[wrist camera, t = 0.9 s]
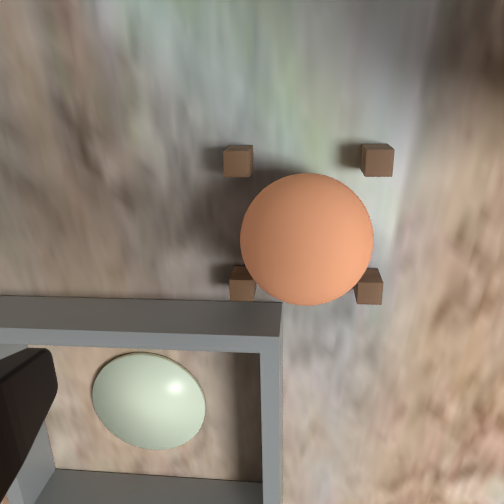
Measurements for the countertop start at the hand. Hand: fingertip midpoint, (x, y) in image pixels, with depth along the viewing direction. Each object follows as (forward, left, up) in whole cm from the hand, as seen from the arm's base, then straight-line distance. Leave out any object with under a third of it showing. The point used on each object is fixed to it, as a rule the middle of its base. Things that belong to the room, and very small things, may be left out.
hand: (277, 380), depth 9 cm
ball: (-1, +1, -12) cm, 12 cm away
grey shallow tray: (+7, +11, -12) cm, 18 cm away
